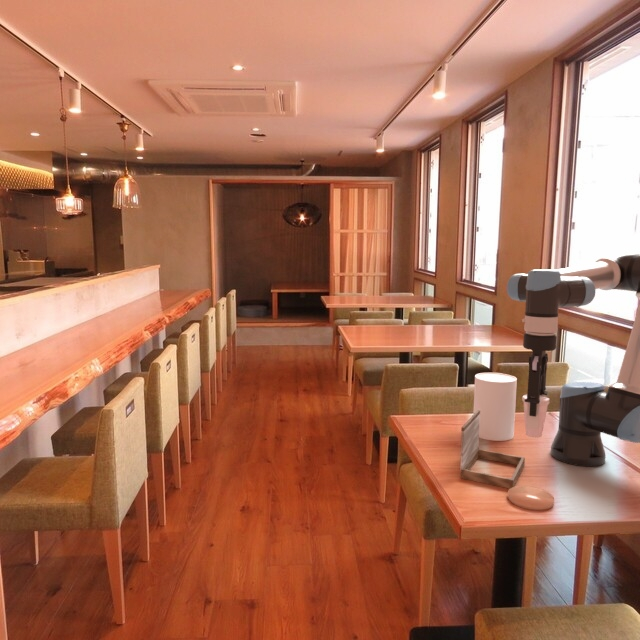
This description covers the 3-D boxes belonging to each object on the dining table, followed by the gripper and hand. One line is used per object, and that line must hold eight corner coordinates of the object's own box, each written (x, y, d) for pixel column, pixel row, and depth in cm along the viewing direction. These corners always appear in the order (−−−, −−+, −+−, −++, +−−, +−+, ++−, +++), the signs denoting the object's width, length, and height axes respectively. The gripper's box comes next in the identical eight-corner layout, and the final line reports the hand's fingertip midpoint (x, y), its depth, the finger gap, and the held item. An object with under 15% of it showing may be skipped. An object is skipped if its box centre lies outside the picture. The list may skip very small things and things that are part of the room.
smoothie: (550, 440, 131) (553, 384, 129) (522, 438, 132) (525, 383, 130) (544, 431, 137) (547, 378, 135) (518, 429, 139) (521, 376, 137)
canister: (508, 443, 176) (511, 384, 173) (467, 436, 183) (470, 378, 180) (517, 431, 187) (520, 375, 185) (478, 424, 194) (481, 370, 192)
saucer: (556, 496, 139) (556, 491, 139) (550, 514, 130) (551, 509, 130) (512, 486, 145) (512, 482, 145) (503, 503, 135) (504, 499, 135)
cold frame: (524, 465, 159) (527, 417, 157) (512, 489, 143) (515, 436, 141) (471, 454, 167) (473, 409, 164) (454, 476, 151) (456, 426, 149)
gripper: (530, 326, 141) (525, 411, 145) (516, 337, 125) (511, 432, 128) (561, 328, 138) (555, 415, 141) (551, 340, 121) (545, 438, 124)
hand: (534, 423), depth 134 cm, fingers closed on smoothie, 6 cm apart
